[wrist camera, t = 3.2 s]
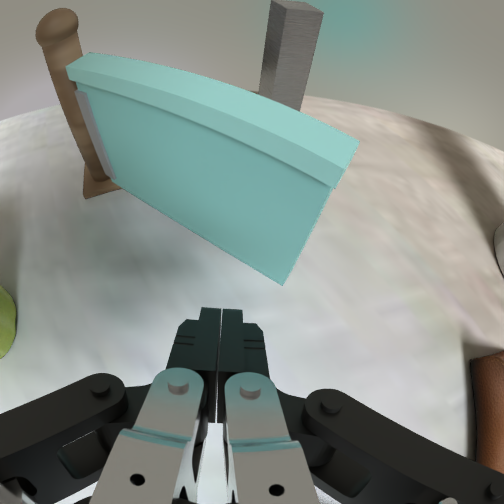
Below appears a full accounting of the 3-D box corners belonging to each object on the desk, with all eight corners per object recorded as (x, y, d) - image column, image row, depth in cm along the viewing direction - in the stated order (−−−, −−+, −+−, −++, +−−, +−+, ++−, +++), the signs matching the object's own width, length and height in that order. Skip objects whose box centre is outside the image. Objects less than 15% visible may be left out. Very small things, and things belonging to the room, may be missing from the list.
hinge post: (126, 154, 24) (89, -7, 10) (128, 186, 22) (78, 4, 8) (86, 166, 23) (33, 15, 9) (85, 199, 21) (13, 33, 7)
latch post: (286, 111, 28) (309, 1, 17) (303, 136, 27) (336, 16, 15) (246, 115, 27) (259, -3, 16) (261, 142, 26) (281, 10, 14)
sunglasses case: (513, 493, 10) (534, 513, 5) (456, 515, 13) (467, 543, 7) (513, 340, 19) (541, 329, 13) (456, 361, 21) (475, 357, 16)
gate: (108, 183, 21) (65, 66, 11) (123, 168, 22) (89, 52, 12) (282, 290, 18) (344, 169, 8) (295, 268, 19) (359, 141, 9)
